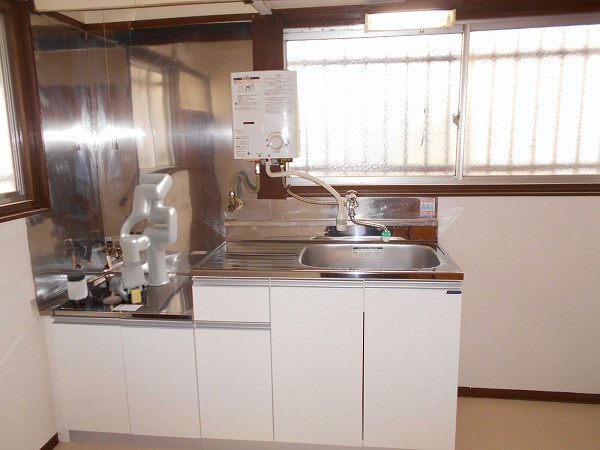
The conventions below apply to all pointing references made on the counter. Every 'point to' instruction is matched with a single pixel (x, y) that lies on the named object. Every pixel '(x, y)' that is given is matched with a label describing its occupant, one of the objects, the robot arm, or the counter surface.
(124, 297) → the gray flat block
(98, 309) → the counter surface
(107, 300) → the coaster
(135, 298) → the stub
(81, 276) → the jar
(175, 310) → the counter surface
